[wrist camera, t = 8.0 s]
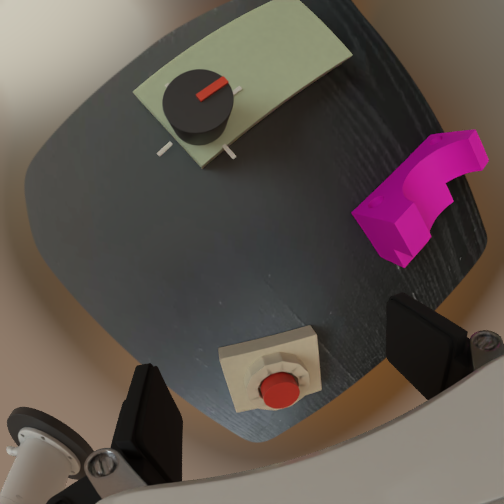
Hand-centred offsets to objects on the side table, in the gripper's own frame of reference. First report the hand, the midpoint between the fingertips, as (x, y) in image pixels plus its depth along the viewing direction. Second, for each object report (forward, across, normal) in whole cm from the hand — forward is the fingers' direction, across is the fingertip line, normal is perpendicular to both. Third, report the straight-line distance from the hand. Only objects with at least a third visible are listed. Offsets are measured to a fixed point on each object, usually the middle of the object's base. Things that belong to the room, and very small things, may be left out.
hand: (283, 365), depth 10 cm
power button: (+14, -1, +13) cm, 19 cm away
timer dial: (+14, +1, -12) cm, 19 cm away
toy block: (+17, -20, -2) cm, 27 cm away
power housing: (+17, -1, +13) cm, 22 cm away
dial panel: (+17, -4, -16) cm, 24 cm away
